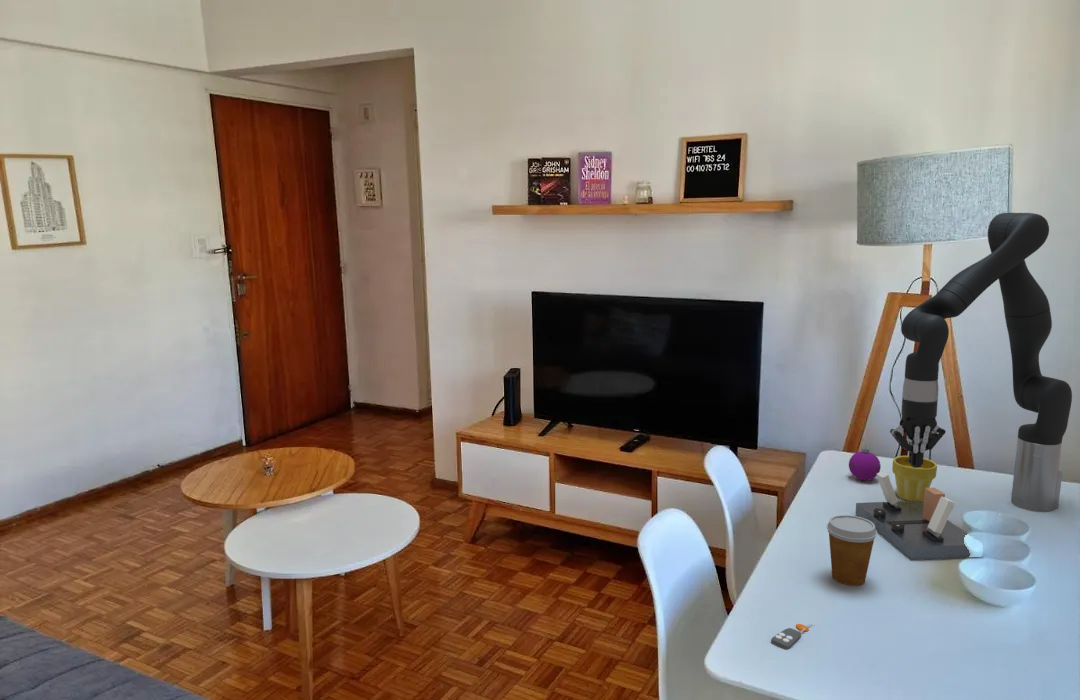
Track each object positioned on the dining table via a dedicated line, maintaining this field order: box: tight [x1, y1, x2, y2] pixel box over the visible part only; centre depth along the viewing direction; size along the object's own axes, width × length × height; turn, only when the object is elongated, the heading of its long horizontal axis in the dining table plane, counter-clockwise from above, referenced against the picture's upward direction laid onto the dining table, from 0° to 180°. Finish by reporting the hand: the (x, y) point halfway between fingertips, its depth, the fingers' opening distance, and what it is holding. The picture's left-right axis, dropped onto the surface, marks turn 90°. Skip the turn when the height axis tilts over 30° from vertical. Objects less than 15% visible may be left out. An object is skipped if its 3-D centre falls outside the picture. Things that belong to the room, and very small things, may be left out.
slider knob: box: [922, 487, 946, 522], centre depth 171 cm, size 2×4×7 cm, turn 4°
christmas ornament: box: [848, 445, 882, 481], centre depth 207 cm, size 8×8×10 cm
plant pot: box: [891, 455, 938, 503], centre depth 193 cm, size 10×10×10 cm
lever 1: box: [876, 471, 898, 508], centre depth 179 cm, size 2×4×8 cm, turn 3°
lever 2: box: [927, 496, 955, 538], centre depth 162 cm, size 2×4×8 cm, turn 4°
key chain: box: [770, 623, 816, 650], centre depth 133 cm, size 13×4×2 cm, turn 133°
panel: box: [854, 500, 970, 561], centre depth 172 cm, size 16×25×4 cm, turn 3°
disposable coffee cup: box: [826, 514, 878, 586], centre depth 151 cm, size 10×10×12 cm
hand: (915, 466), depth 178 cm, fingers closed
